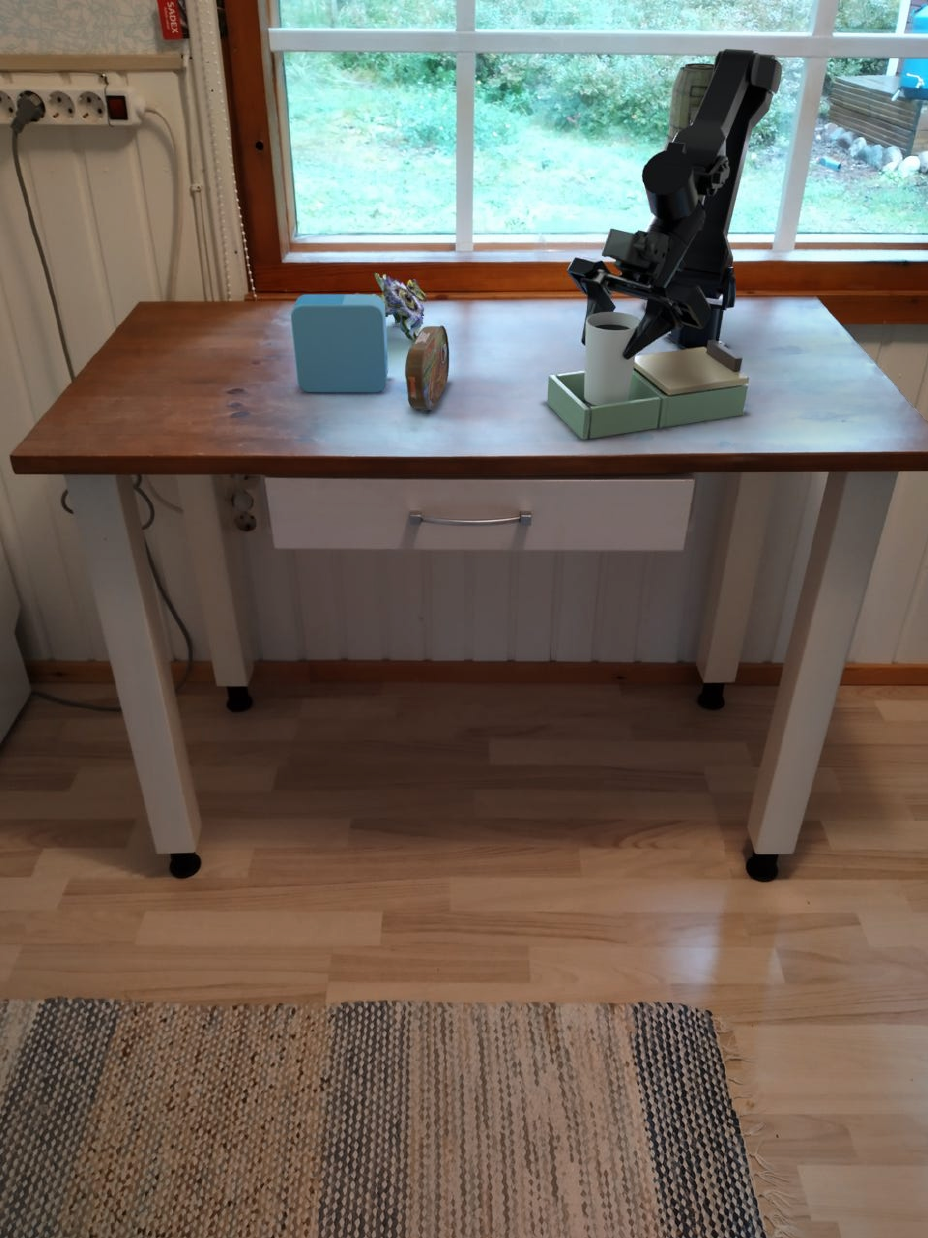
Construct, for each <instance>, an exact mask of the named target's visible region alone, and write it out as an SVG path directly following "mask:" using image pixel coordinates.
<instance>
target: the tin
mask: <svg viewBox="0 0 928 1238" xmlns="http://www.w3.org/2000/svg"><path fill="white" fill-rule="evenodd" d="M412 342H413V343H412V344H411V346H410V347H409V349H408V351H407V354H406V357H405V365H404V376H405V381H406V390H407V402H408V404H409V406H410V408H411V409H413V410H426V411H427V410H428V411H433V410H434V408H435V407H436V404H437V403H438V401H439V399H440V397H441V395H442V393H443V391H444V390H445V388H446V386H447V383H448V379H449V373H450V345H449V337H448V333H447V330H446V328H445V326H444V325H436V326H435V325H427V326H424V327H423V328H421V330H420V333H419V335H418V336H417V338H416V339H414V341H412Z"/></svg>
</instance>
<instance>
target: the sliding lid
mask: <svg viewBox="0 0 928 1238" xmlns="http://www.w3.org/2000/svg"><path fill="white" fill-rule="evenodd" d="M742 363H743V357H742V356H740V355H739V354H737V353H736V352H734V351H733V350H731V349H730V348H729V347H726V346H723V345H722V344H720V343H719V342H717V341H716V340H708V344H707V349H706V348H705V347H700V348H692V349H685V350H684V349H678V350H670V351H664V352H656V353H649V354H639V355H635V362H634V368H636V369H637V370H638V371H639V372H641V373H642V374H643V375H644V376H646V377H647V378H648V379H649V380H651V381H652V382H653V383H654V384H656V385H657V386H658V387H659V388H661V389H662V390H661V391H662V392H664V393H666V394H667V395H674V394H681V393H688V392H695V391H702V390H708V389H715V388H722V387H729V386H736V385H743V384H746V385H747V384H749V382H750V377H749V376H747V375H746V374H745V373H743V372H741V369H742Z"/></svg>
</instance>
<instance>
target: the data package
mask: <svg viewBox="0 0 928 1238" xmlns="http://www.w3.org/2000/svg"><path fill="white" fill-rule="evenodd" d="M292 307H293V308H292V309H291V312H290V323H291V332H292V333H291V334H292V343H293V353H294V361H295V362H294V363H295V371H296V380H297V385H298V386H299V387H300V389H301V390H302V391H303V392H304V391H305V392H306V393H379V392H381V391H383V389H384V388H385V387H386V385H387V380H388V374H389V359H388V339H387V338H388V337H387V317H386V315H385V304H384V302H383V300H382V299H381V298H380V296H379V295H378V294H377V295H372V294H361V295H355V294H328V293H327V294H323V293H322V294H317V293H316V294H309V293H307V294H302V295H300V296H298V298H296V300H295V303H294V305H293V306H292Z"/></svg>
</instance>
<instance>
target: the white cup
mask: <svg viewBox="0 0 928 1238" xmlns="http://www.w3.org/2000/svg"><path fill="white" fill-rule="evenodd" d="M640 321H641V320H640V319H639V318H638V317H637V316H635V315H632V314H630V313H626V312H620V311H619V312H618V311H616V312H615V311H613V312H601V313H596V314H592V315H591V316H589V317H587V320H586V339H585V346H584V371H585V382H584V398H585V400H586V402H587V403H589V404H590V405H592V406H599V405H605V404H612V403H619V402H626V401H629V396H630V389H631V382H632V375H633V369H634V362H635V356H636V355H634V356H633V357H632V358H630V359H629V360H626V359H625V358H624V357H623V353H624V351H625V349H626V346H627V344H628V342H629V341H630V339H631V337H632V336H633V334H634V332H635V330H636V328H637V327H638V325H639V323H640Z"/></svg>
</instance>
